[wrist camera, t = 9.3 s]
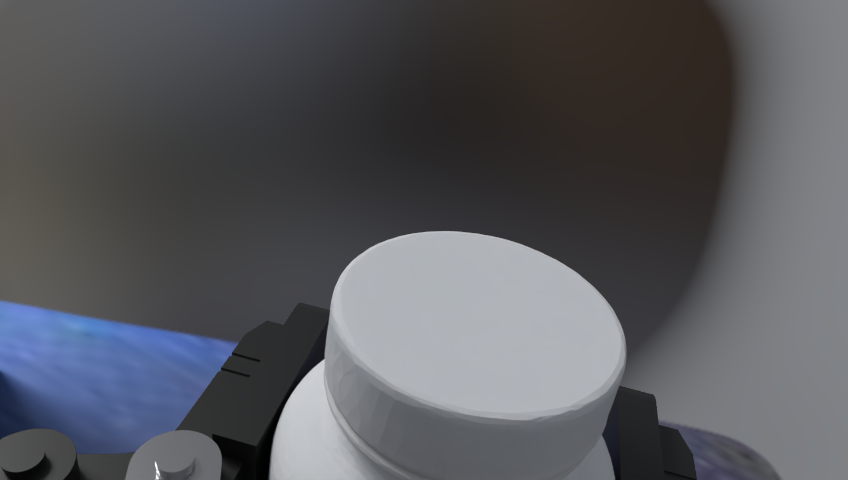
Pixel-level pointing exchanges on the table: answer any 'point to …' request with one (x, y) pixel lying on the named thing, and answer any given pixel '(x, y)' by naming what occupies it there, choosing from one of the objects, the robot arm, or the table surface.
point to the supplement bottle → (456, 369)
